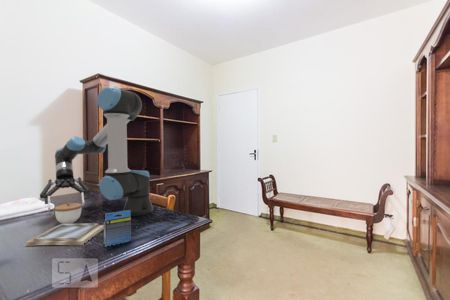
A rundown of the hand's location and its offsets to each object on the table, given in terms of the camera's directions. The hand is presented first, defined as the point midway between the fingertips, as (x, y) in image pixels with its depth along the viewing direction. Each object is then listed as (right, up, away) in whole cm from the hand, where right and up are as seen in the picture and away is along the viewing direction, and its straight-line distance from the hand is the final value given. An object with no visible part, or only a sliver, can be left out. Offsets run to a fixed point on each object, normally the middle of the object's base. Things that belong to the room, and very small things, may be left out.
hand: (66, 206), depth 110 cm
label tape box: (+36, -8, -24) cm, 44 cm away
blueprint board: (+13, -7, -18) cm, 24 cm away
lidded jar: (+1, -7, -1) cm, 7 cm away
